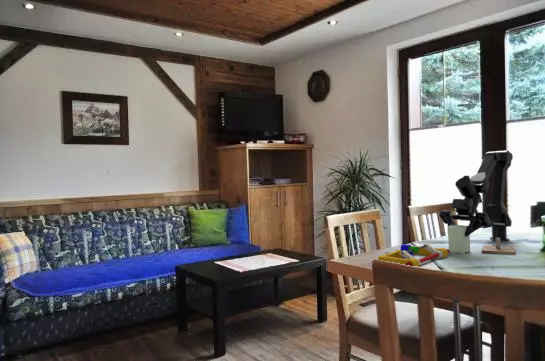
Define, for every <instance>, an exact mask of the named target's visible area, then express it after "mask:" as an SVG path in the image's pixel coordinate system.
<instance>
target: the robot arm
mask: <svg viewBox="0 0 545 361" xmlns="http://www.w3.org/2000/svg"><path fill="white" fill-rule="evenodd" d="M513 157H514V156H513V153H512V152H510V150H496V151H487V152H485V153H484V158H483V160H482V161H481V164H480V166H479V169H478V170H477V172H476V174H474V175H473V176H471V177H470V176H469V175H463V176H462V177H461V178H458V179H457V180H456V181H455V186H456V189H457V190H458V192H459V193H460V195H461V196H462V197H464V198H453V199H452V203H451V207H452V208H453V209H455V210H454V211H455V213H456V214H455V213H452V211H451V210H440V211H439V213H438V217H439V218H440V220H441V221H442V223H443V224H445V225H447V227H448V226H451V225H457V224H456V222H455V221H462V222H463V221H464V222H465V221H466V222H469V224H468V225H467V226H468V228H467V230H466V233H465V236H466V237H467V236H469V235H470V236H471V234H472V233H474V232H476V231H478V230H479V229H481V228H483V227H486V228H488V227H489V228H490V226H491V236H490V237H489V239H490V240H492V241H495V242H496V238H500V242H502V241H510V240H511V239H510V238H508V236H507V234H508V233H507V232H508V231H507V227H512V221H513V220H512V219H511V216H510V215H509V213H508V208H507V207H506V205H505V193H506V192H505V190H506V177H507V171H508V170H509V169H510V167H511V166H512V161H513V159H514V158H513ZM492 174H493V177H492V178H493V179H492V189H491V190H492V192H491V201H490V203H489V204H487V205H486V206H485V212H483V211H482V212H480V211H478V206H479V204H483V198H482V194H487V193H488V191H489V188H490V181H489V179H490V177H491V175H492Z"/></svg>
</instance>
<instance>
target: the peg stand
mask: <svg viewBox="0 0 545 361" xmlns="http://www.w3.org/2000/svg"><path fill="white" fill-rule="evenodd" d="M515 248H516V247H515V246H506V245H501V241H500V238H496V241H495V245H482V248H481V254H490V253H491V254H492V255H495V254H497V255H514V256H515V255H516V249H515Z"/></svg>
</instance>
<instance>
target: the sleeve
mask: <svg viewBox="0 0 545 361" xmlns="http://www.w3.org/2000/svg"><path fill="white" fill-rule="evenodd" d="M467 228H468V225H461V224H456V225H451V226H448V225H447V239H448V241H447V242H448V249H449V250H450V253H455V252H461V253H460V254H463V253H464V254H466V253H465V252H467V253H469V252H468V251H470V252H471V237H470V236H471V234H470V235H469V236H467V237H466V236H465V233H466V230H467Z"/></svg>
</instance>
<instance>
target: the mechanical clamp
mask: <svg viewBox="0 0 545 361" xmlns="http://www.w3.org/2000/svg"><path fill="white" fill-rule="evenodd" d="M449 253H451V252H450V250H449V248H447V249H446V248H445V247H441V248H437V247H433V246H432V245H430V243H428V242H427V243H424V244H423V245H420V246H417V245H411V244H404V243H403V244H401V245H400V249H395V251H385V254H382V255H379V256H378V258H377V259H378V261H379V260H383V261H389V262H395V263H400V264H405V265H410V266H418V268H419V266H421V264H422V263H425V262H428V261H430V260H431V261H432V260H434V259H444V258H447V257H448V256H449ZM414 255H419V256H421V255H422V256H424V257H421V258H415V256H414Z"/></svg>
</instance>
